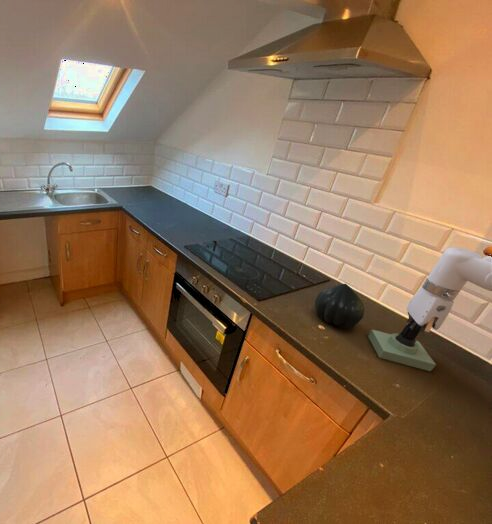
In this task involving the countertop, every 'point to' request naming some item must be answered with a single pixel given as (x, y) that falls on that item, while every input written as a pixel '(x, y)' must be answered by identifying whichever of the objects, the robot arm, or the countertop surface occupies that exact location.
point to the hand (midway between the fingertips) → (406, 337)
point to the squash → (339, 306)
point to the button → (405, 340)
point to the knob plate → (400, 351)
